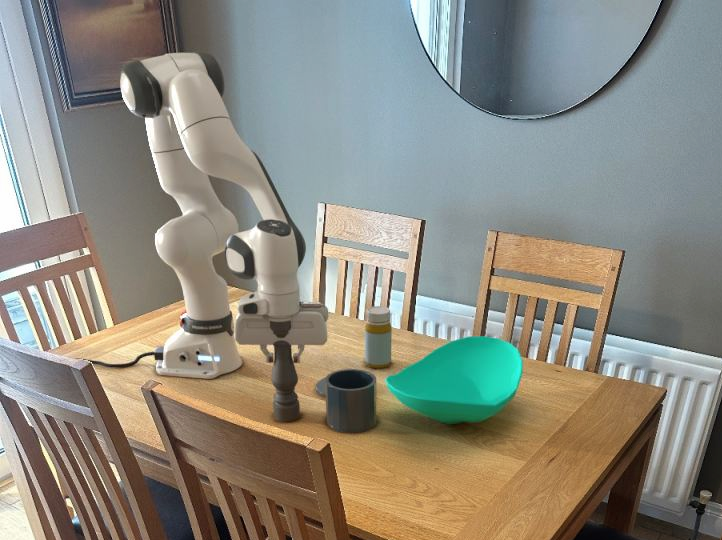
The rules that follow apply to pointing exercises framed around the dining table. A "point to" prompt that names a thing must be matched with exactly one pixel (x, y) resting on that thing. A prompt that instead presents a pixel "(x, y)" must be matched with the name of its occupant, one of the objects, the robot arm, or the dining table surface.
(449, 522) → the dining table surface
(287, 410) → the candle holder
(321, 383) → the lid
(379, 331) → the bottle
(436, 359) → the table top decor
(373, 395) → the crock
